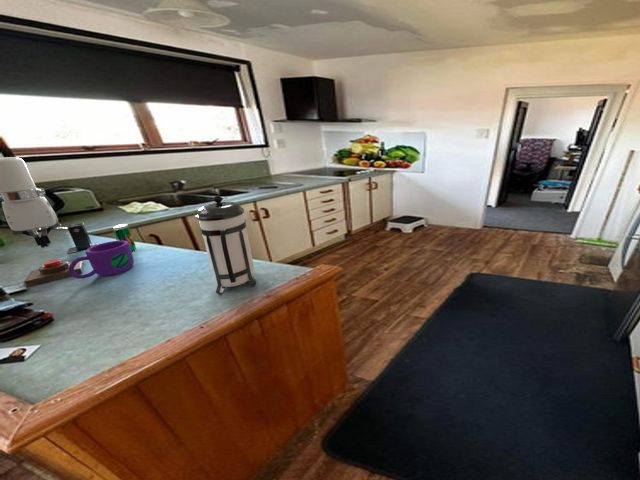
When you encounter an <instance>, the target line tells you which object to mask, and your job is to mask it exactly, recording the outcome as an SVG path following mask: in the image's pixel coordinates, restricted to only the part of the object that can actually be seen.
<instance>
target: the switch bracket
mask: <svg viewBox="0 0 640 480" xmlns="http://www.w3.org/2000/svg"><path fill="white" fill-rule="evenodd" d="M67 228H68V230H67V231H68V232H69V234H70V237H71V240H72V242H73V244H74V246H73V247H69V248H68V251H67V255H71V254H75V253H80V252H85V251H86V250H87V249H88V248H90V247H93V246H95V245H98V244H102V242H101V241H98V242H92V241H91V238H90V235H89V233H88V230H87V227H86V226H85V223H84V222H79V223H73V224H68V226H67Z"/></svg>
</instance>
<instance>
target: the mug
mask: <svg viewBox="0 0 640 480" xmlns="http://www.w3.org/2000/svg"><path fill="white" fill-rule="evenodd" d="M84 252H85V255H84V256H79V257H78V256H77V257H76V258H74V259H73V260H71V261H70V262H71V264H70V265H69V267H68V273H69V274H70V275H71V276H70V277H72V278H74V279H77V280H82V279H88V278H91V277H93V276H94V275H97V276H100V277H109V276H115V275H118V274H122V273H125V272H126V271H128V270H130V269H132V267H133V266H134V264H135V260H134V256H133V252H131V249H130V246H129V243H128V242H127V241H117V240H112V241H106V242H103V243H102V242H101V244H98V245H95V246H93V247H90V248H88V249H87V250H85V251H84ZM82 260H83V261H89V264H90V266H91V268H92V269H93V270H91V271H90V272H88V273H84V274H77V273H76V272H74V268H75V266H76V264H77V263H78V262H79V261H82Z"/></svg>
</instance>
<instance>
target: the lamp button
mask: <svg viewBox="0 0 640 480" xmlns="http://www.w3.org/2000/svg"><path fill="white" fill-rule="evenodd" d="M61 261H62V260H61V259H60V258H56V259H51V260H48V261H45V262H43V265H44V266H45V268H51V267H55V266H58V265H61V264H62V262H61Z"/></svg>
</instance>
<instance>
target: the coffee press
mask: <svg viewBox="0 0 640 480" xmlns="http://www.w3.org/2000/svg"><path fill="white" fill-rule="evenodd" d="M244 213H245V209H244V207H243V206H242V205H241V204H240V203H238V202H235V201H223V197H222V196H221V195H215V196H214V197H213V203H208V204H205V205H204V206H202V207H200V208H199V209H198V211H197V214H196V215H195V218H196V220H197V221H198V222H199V230H200V234H201V235H202V238H203V242H204V246H205V250H206V253H207V258H208V261H209V262H208V263H209V265H210V269H211V273H212V277H213V280H214V283H215V284H216V285H217V286H216V290H215V294H217V295H223V293H224V291H225V289H226V288H232V287H236V286H240V285H243V284H245V283H246V284H247V285H249V286H250V287H253V286H255V285H257V282H256V280H255V279H254V278H253V277H254V276H255V273H256V271H255V267H254V266H255V265H254V260H253V256H252V250H251V245H250V240H249V234H248V230H247V225H248V224H247V221H246V219H245V215H244Z"/></svg>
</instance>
